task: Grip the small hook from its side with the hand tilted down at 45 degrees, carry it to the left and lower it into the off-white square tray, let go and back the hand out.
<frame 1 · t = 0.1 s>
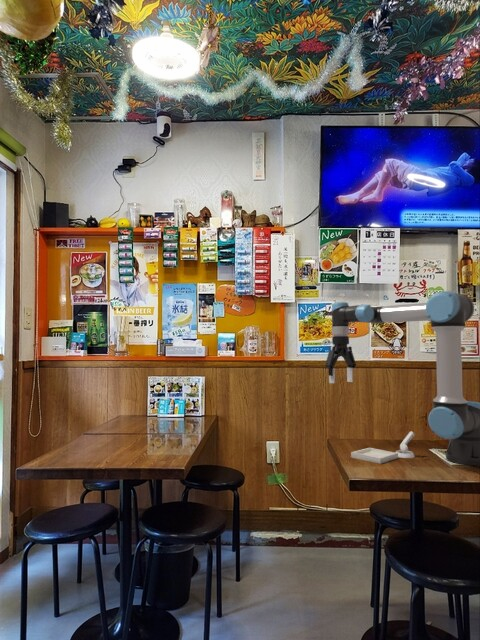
hand: (341, 382, 201), 28 cm above the table, tool pointing down, fingers open, 13 cm apart
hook: (404, 456, 178), on the table
tray: (374, 457, 175), on the table
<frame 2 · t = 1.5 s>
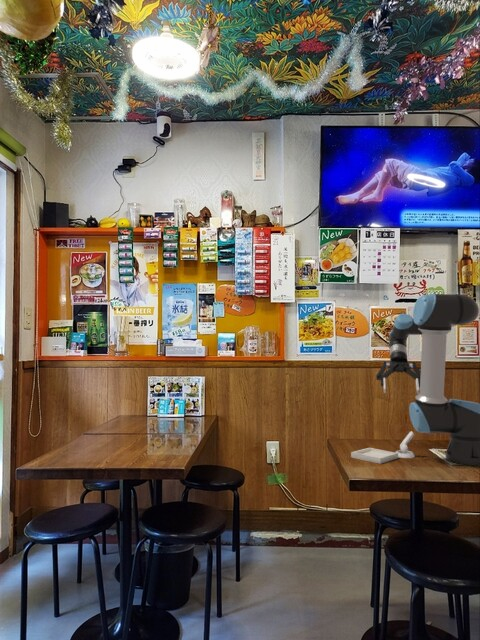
hand: (401, 391, 190), 25 cm above the table, tool tilted 45°, fingers open, 13 cm apart
nothing on the table moved.
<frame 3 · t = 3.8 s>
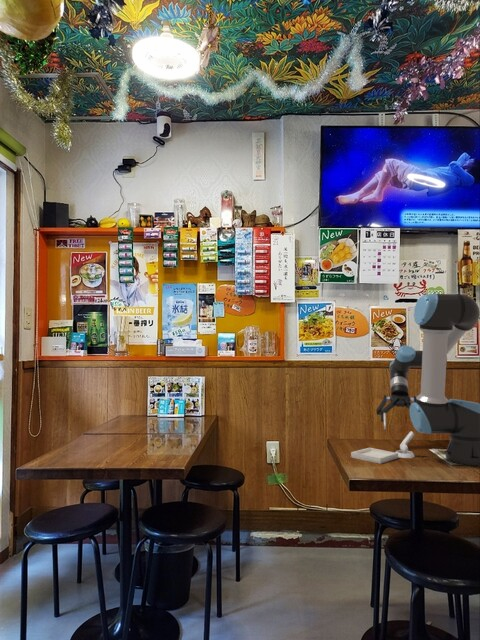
hand: (401, 428, 184), 10 cm above the table, tool tilted 45°, fingers open, 13 cm apart
nothing on the table moved.
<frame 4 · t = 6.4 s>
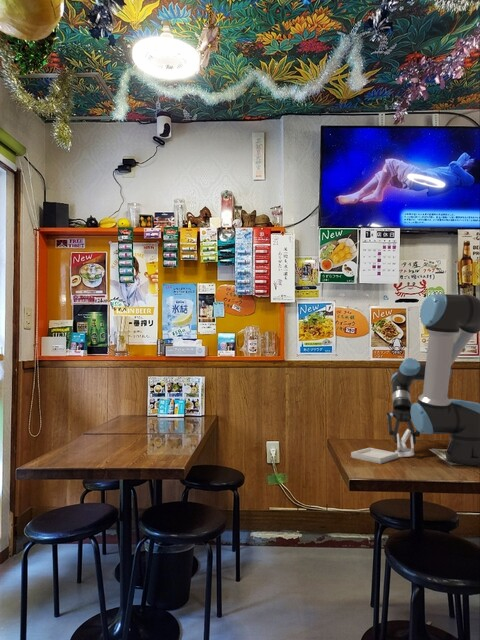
hand: (405, 449, 175), 3 cm above the table, tool tilted 45°, fingers closed on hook, 4 cm apart
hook: (404, 454, 178), on the table, touching gripper
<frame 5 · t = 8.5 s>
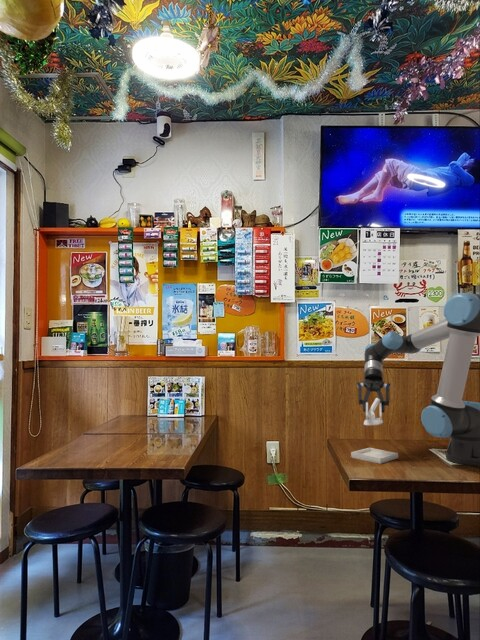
hand: (373, 417, 173), 16 cm above the table, tool tilted 45°, fingers closed on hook, 4 cm apart
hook: (373, 423, 176), point 13 cm above the table, touching gripper
when the fingers open (5 cm above the table, at t = 10.8 s): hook moves 2 cm, point 2 cm above the table.
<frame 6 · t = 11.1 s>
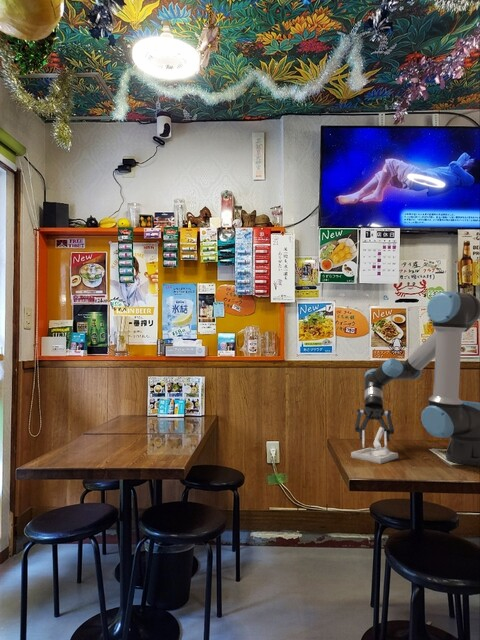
hand: (374, 446, 172), 5 cm above the table, tool tilted 45°, fingers open, 8 cm apart
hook: (380, 454, 174), point 2 cm above the table, touching gripper
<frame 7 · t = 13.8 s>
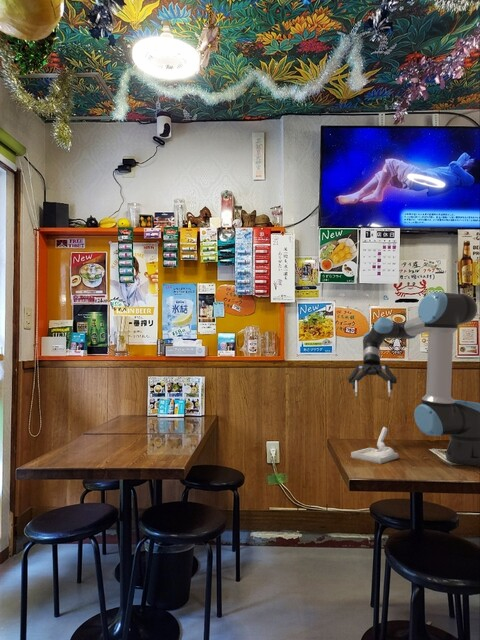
hand: (372, 394, 187), 24 cm above the table, tool tilted 45°, fingers open, 13 cm apart
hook: (384, 454, 174), point 2 cm above the table, touching tray
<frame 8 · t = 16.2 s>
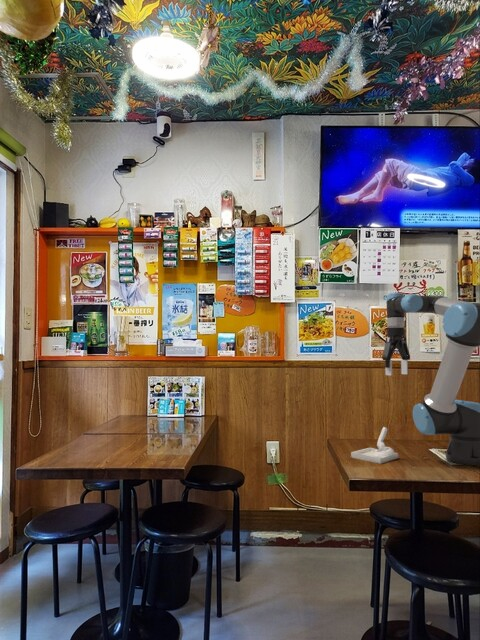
hand: (396, 374, 197), 32 cm above the table, tool pointing down, fingers open, 13 cm apart
nothing on the table moved.
at the end: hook inside the target area on the tray (3.8 cm from its centre), point 1.7 cm above the tray's base; the gripper is holding nothing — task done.
